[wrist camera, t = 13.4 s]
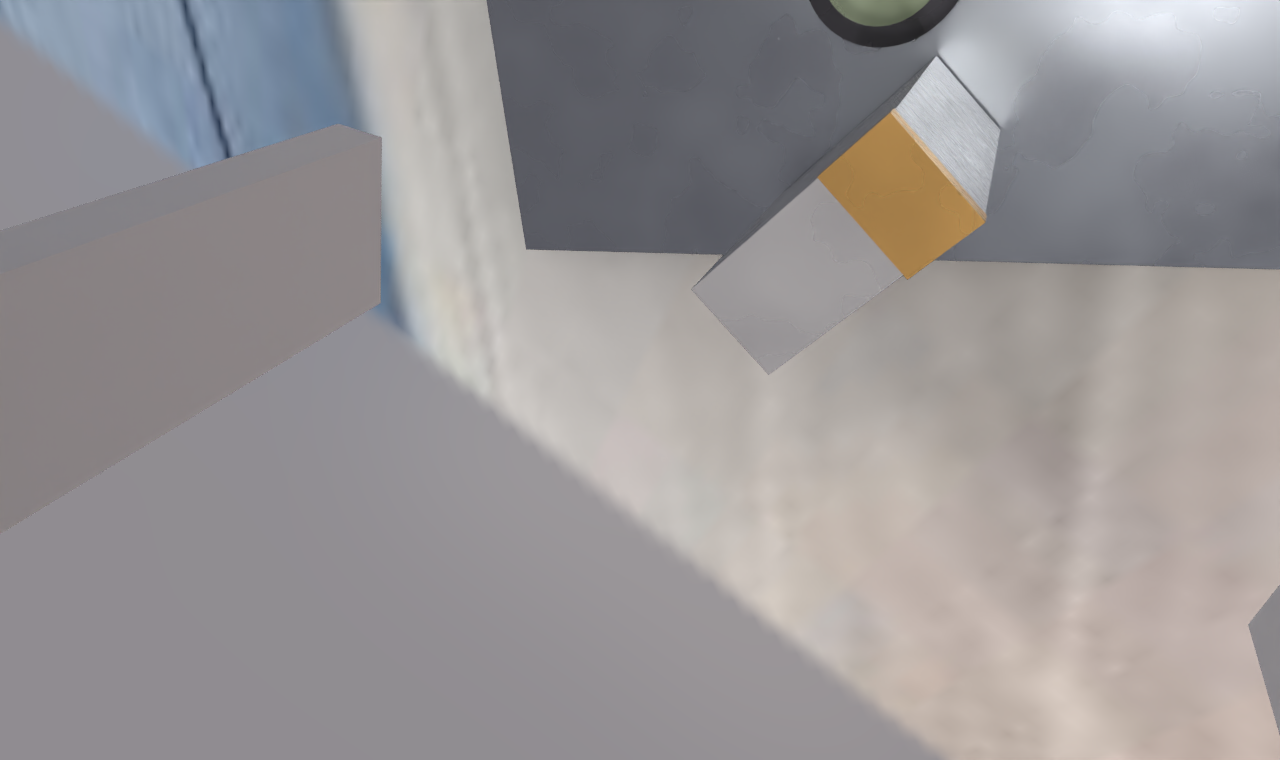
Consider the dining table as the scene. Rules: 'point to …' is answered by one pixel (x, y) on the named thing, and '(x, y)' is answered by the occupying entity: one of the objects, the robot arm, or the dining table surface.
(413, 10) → the dining table surface
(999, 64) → the board
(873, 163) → the banded metal block
